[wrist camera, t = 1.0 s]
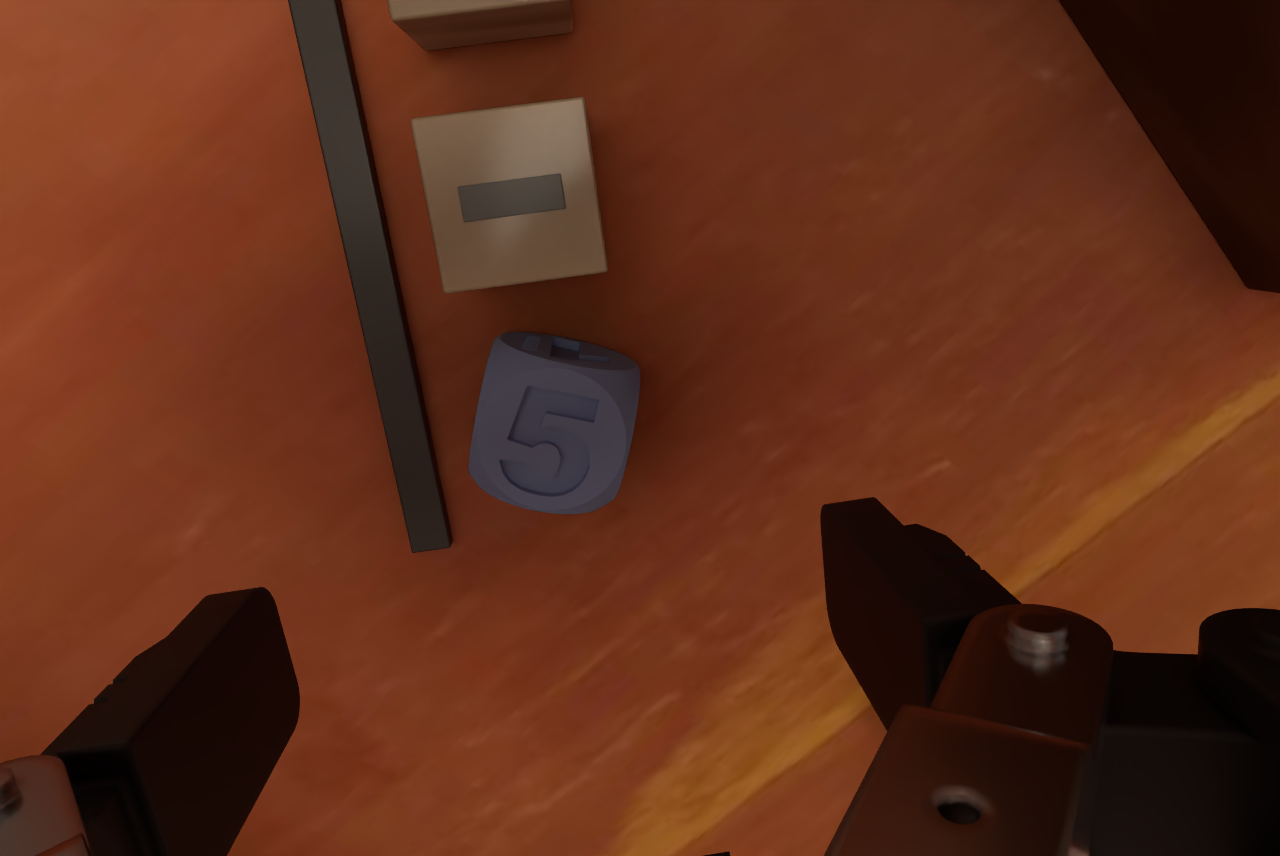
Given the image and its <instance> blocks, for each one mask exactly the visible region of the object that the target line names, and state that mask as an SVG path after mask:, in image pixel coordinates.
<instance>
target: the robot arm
mask: <svg viewBox="0 0 1280 856" xmlns="http://www.w3.org/2000/svg"><path fill="white" fill-rule="evenodd" d="M821 536H822V550H823V563H824V577H825V591H826V603H827V611H828V617H829V622H830V626H831V630H832V633H833V636H834V639H835V641H836V644H837V646H838V648H839V650H840V651H841V653H842V655H843V656H844V658H845V660H846V661H847V663H848V665H849V667H850V668H851V670H852V672H853V673H854V675H855V677H856V679H857V680H858V682H859V684H860V685H861V687H862V689H863V691H864V692H865V694H866V696H867V697H868V699H869V701H870V703H871V704H872V706H873V708H874V709H875V711H876V713H877V715H878V716H879V718H880V720H881V721H882V723H883V725H884V726H885V728H886V730H887V734H886V736H885V738H884V740H883V742H882V744H881V745H880V747H879V749H878V751H877V753H876V755H875V757H874V759H873V761H872V763H871V765H870V767H869V769H868V771H867V773H866V775H865V777H864V779H863V780H862V782H861V784H860V786H859V788H858V790H857V792H856V794H855V796H854V798H853V800H852V802H851V804H850V806H849V808H848V810H847V812H846V813H845V815H844V817H843V819H842V821H841V823H840V825H839V827H838V829H837V831H836V833H835V835H834V837H833V839H832V841H831V843H830V845H829V847H828V848H827V850H826V852H825V854H824V856H1280V610H1275V609H1262V608H1243V609H1232V610H1227V611H1222V612H1219V613H1216V614H1213V615H1211V616H1209V617H1207V618H1206V619H1205V620H1204V621H1203V622H1202V624H1201V625H1200V629H1199V644H1198V655H1195V654H1165V653H1137V652H1123V651H1116V650H1113V642H1112V640H1111V637H1110V636H1109V635H1108V633H1107V632H1106V631H1105V630H1104V629H1103V628H1102V627H1101V626H1100V625H1098V624H1097V623H1095V622H1094V621H1092V620H1090V619H1088V618H1086V617H1084V616H1082V615H1080V614H1077V613H1074V612H1072V611H1068V610H1065V609H1061V608H1056V607H1051V606H1045V605H1036V604H1022V603H1020V602H1019V601H1018V600H1017V599H1016V598H1015V597H1014V596H1013V595H1012V594H1010V593H1009V592H1008V591H1007V590H1006V589H1005V588H1004V587H1003V586H1002V585H1000V584H999V583H998V582H997V581H996V580H995V579H994V578H993V577H992V576H991V575H989V574H988V573H987V572H986V571H985V570H981V568H980V566H979V565H978V564H977V563H976V562H975V561H974V560H973V559H972V558H971V557H970V556H966V555H965V552H964V551H963V550H962V549H961V548H960V547H958V546H957V545H956V544H955V543H954V542H953V541H952V540H951V539H950V538H948V537H947V536H946V535H943V534H941V533H938V532H936V531H934V530H931V529H929V528H926V527H924V526H921V525H919V524H911V525H905V526H903V525H902V524H901V523H900V522H899V521H898V520H897V519H896V518H895V517H894V516H893V515H892V514H891V513H890V512H889V511H888V510H887V509H886V508H885V507H884V506H883V505H882V504H881V503H880V502H879V501H878V500H877V499H876V498H874V497H871V498H864V499H858V500H851V501H844V502H837V503H831V504H825V505H823V506H822V509H821ZM299 708H300V695H299V687H298V682H297V678H296V675H295V671H294V668H293V664H292V660H291V657H290V653H289V650H288V646H287V642H286V639H285V635H284V632H283V628H282V624H281V621H280V617H279V614H278V610H277V606H276V603H275V601H274V598H273V596H272V595H271V593H270V592H269V591H268V590H267V589H266V588H263V587H259V588H252V589H245V590H239V591H232V592H225V593H218V594H212V595H208V596H206V597H205V598H203V599H202V600H201V601H200V602H199V604H198V605H197V606H196V607H195V608H194V609H193V610H192V611H191V612H190V613H189V614H188V615H187V616H186V617H185V618H184V619H183V620H182V621H181V622H180V624H179V625H178V626H177V627H176V628H175V629H174V630H173V631H172V632H171V633H170V634H169V635H168V636H167V637H166V638H164V639H163V640H161V641H160V642H158V643H156V644H155V645H153V646H152V647H150V648H149V649H147V650H146V651H144V652H142V653H141V654H139V655H138V656H136V657H135V658H134V659H133V660H132V661H131V662H130V663H129V664H128V665H127V666H126V667H125V668H124V669H123V670H122V671H121V672H120V673H119V674H118V675H117V677H116V678H115V679H114V680H113V684H110V685H108V686H107V687H106V688H105V689H104V690H103V691H102V692H101V693H100V694H99V695H98V696H97V697H96V698H95V699H94V704H90V705H88V706H87V707H86V708H85V709H84V710H83V711H82V712H81V713H80V714H79V715H78V716H77V717H76V719H75V720H74V721H73V722H72V723H71V724H70V725H69V726H68V727H67V728H66V729H65V730H64V731H63V732H62V733H61V734H60V735H59V736H58V737H57V738H56V739H55V740H54V741H53V742H52V743H51V744H50V745H49V746H48V747H47V748H46V749H45V750H44V751H43V752H42V753H41V754H40V755H33V756H26V757H21V758H16V759H13V760H9V761H5V762H2V763H0V856H227V854H228V852H229V850H230V849H231V847H232V845H233V843H234V841H235V839H236V837H237V836H238V834H239V832H240V830H241V828H242V826H243V825H244V823H245V821H246V819H247V817H248V815H249V813H250V812H251V810H252V808H253V806H254V804H255V802H256V800H257V799H258V797H259V795H260V793H261V791H262V789H263V787H264V786H265V784H266V782H267V780H268V778H269V776H270V774H271V773H272V771H273V769H274V767H275V765H276V763H277V761H278V760H279V758H280V756H281V754H282V752H283V750H284V748H285V747H286V745H287V743H288V741H289V739H290V737H291V736H292V734H293V732H294V730H295V728H296V725H297V721H298V717H299ZM704 856H730V852H723V853H717V854H710V855H704Z"/></svg>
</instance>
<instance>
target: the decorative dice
mask: <svg viewBox="0 0 1280 856" xmlns="http://www.w3.org/2000/svg"><path fill="white" fill-rule="evenodd" d="M639 391H640V369H639V367H638V365H637V364H636V363H635V361H633V360H632V359H631V358H629V357H627V356H625V355H623V354H621V353H618V352H616V351H613V350H610V349H608V348H605V347H601V346H598V345H595V344H591V343H587V342H583V341H579V340H575V339H570V338H565V337H560V336H554V335H548V334H540V333H530V332H509V333H504V334H502V335H500V336H498V337H497V338H495V340H494V342H493V345H492V348H491V351H490V355H489V358H488V362H487V366H486V370H485V374H484V379H483V383H482V388H481V392H480V397H479V402H478V407H477V412H476V418H475V423H474V429H473V435H472V441H471V448H470V456H469V466H468V472H469V474H470V475H471V477H472V478H473V479H474V481H475V482H476V483H477V485H478V486H479V487H480V488H481V489H482V490H484V491H485V492H486V493H488V494H489V495H491V496H493V497H495V498H497V499H499V500H501V501H504V502H506V503H509V504H512V505H515V506H518V507H522V508H525V509H529V510H534V511H539V512H546V513H555V514H580V513H587V512H592V511H595V510H597V509H599V508H601V507H603V506H604V505H606V504H607V503H609V502H611V501H612V500H614V499H615V497H616V495H617V493H618V490H619V488H620V485H621V482H622V478H623V475H624V471H625V467H626V463H627V459H628V455H629V451H630V446H631V441H632V436H633V431H634V426H635V420H636V414H637V407H638V400H639Z"/></svg>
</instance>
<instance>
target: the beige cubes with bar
mask: <svg viewBox="0 0 1280 856" xmlns="http://www.w3.org/2000/svg"><path fill="white" fill-rule="evenodd" d="M288 2H289V7H290V11H291V15H292V20H293V24H294V29H295V33H296V38H297V42H298V47H299V51H300V56H301V60H302V64H303V69H304V73H305V78H306V82H307V87H308V91H309V96H310V100H311V105H312V109H313V113H314V118H315V122H316V127H317V131H318V136H319V140H320V145H321V149H322V153H323V158H324V162H325V167H326V171H327V176H328V180H329V185H330V189H331V194H332V198H333V202H334V207H335V211H336V216H337V220H338V225H339V229H340V234H341V238H342V242H343V247H344V251H345V256H346V260H347V265H348V269H349V274H350V278H351V283H352V287H353V291H354V296H355V300H356V305H357V309H358V314H359V318H360V323H361V327H362V332H363V336H364V340H365V345H366V349H367V354H368V358H369V363H370V367H371V372H372V376H373V380H374V385H375V389H376V394H377V398H378V403H379V407H380V412H381V416H382V421H383V425H384V429H385V434H386V438H387V443H388V447H389V452H390V456H391V461H392V465H393V469H394V474H395V478H396V483H397V487H398V492H399V496H400V501H401V505H402V510H403V514H404V518H405V523H406V527H407V532H408V536H409V541H410V545H411V550H412V552H413V553H416V552H423V551H430V550H437V549H443V548H449V547H451V544H452V541H453V540H452V536H451V531H450V526H449V521H448V516H447V512H446V507H445V502H444V497H443V492H442V488H441V483H440V478H439V473H438V468H437V464H436V459H435V454H434V449H433V444H432V440H431V435H430V430H429V425H428V420H427V416H426V411H425V406H424V401H423V396H422V392H421V387H420V382H419V377H418V372H417V368H416V363H415V358H414V353H413V348H412V344H411V339H410V334H409V329H408V324H407V320H406V315H405V310H404V305H403V300H402V296H401V291H400V286H399V281H398V276H397V272H396V267H395V262H394V257H393V252H392V248H391V243H390V238H389V233H388V228H387V224H386V219H385V214H384V209H383V204H382V200H381V195H380V190H379V185H378V181H377V176H376V171H375V166H374V161H373V157H372V152H371V147H370V142H369V137H368V133H367V128H366V123H365V118H364V113H363V109H362V104H361V99H360V94H359V89H358V85H357V80H356V75H355V70H354V65H353V61H352V56H351V51H350V46H349V41H348V37H347V32H346V27H345V22H344V17H343V13H342V8H341V3H340V0H288ZM387 2H388V7H389V12H390V18H391V19H392V21H393V22H394V23H395V24H396V25H397V26H399V27H400V28H401V29H402V30H403V31H404V32H405V33H406V34H408V35H409V36H410V37H411V38H412V39H413V40H414V41H415V42H416V43H418V44H419V45H420V46H421V47H422V48H423V49H424V50H427V51H429V50H437V49H444V48H452V47H460V46H468V45H476V44H484V43H492V42H500V41H508V40H516V39H524V38H532V37H540V36H548V35H556V34H563V33H570V32H572V31H573V19H572V3H571V0H387ZM411 127H412V132H413V137H414V142H415V147H416V152H417V158H418V163H419V168H420V173H421V178H422V183H423V189H424V194H425V199H426V204H427V209H428V214H429V220H430V225H431V230H432V235H433V240H434V245H435V251H436V256H437V261H438V266H439V271H440V276H441V282H442V287H443V291H444V293H446V294H449V293H457V292H464V291H471V290H479V289H486V288H494V287H501V286H509V285H516V284H523V283H531V282H538V281H546V280H553V279H561V278H568V277H575V276H583V275H590V274H598V273H605V272H607V271H608V265H607V257H606V250H605V242H604V235H603V228H602V220H601V213H600V205H599V198H598V191H597V183H596V176H595V169H594V161H593V154H592V146H591V139H590V132H589V124H588V117H587V109H586V102H585V99H584V97H574V98H566V99H558V100H550V101H542V102H535V103H527V104H519V105H511V106H504V107H496V108H488V109H480V110H472V111H465V112H457V113H449V114H441V115H433V116H426V117H418V118H413V119H411Z"/></svg>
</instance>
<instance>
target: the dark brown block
mask: <svg viewBox="0 0 1280 856" xmlns="http://www.w3.org/2000/svg"><path fill="white" fill-rule="evenodd" d="M1060 1H1061V2H1062V4H1063V5H1064V7H1065V8H1066V10H1067V12H1068V13H1069V15H1070V16H1071V18H1072V19H1073V21H1074V22H1075V24H1076V25H1077V27H1078V28H1079V30H1080V31H1081V33H1082V34H1083V36H1084V37H1085V39H1086V41H1087V42H1088V44H1089V45H1090V47H1091V48H1092V50H1093V51H1094V53H1095V54H1096V56H1097V57H1098V59H1099V60H1100V62H1101V63H1102V65H1103V66H1104V68H1105V70H1106V71H1107V73H1108V74H1109V76H1110V77H1111V79H1112V80H1113V82H1114V83H1115V85H1116V86H1117V88H1118V89H1119V91H1120V92H1121V94H1122V95H1123V97H1124V99H1125V100H1126V102H1127V103H1128V105H1129V106H1130V108H1131V109H1132V111H1133V112H1134V114H1135V115H1136V117H1137V118H1138V120H1139V121H1140V123H1141V124H1142V126H1143V128H1144V129H1145V131H1146V132H1147V134H1148V135H1149V137H1150V138H1151V140H1152V141H1153V143H1154V144H1155V146H1156V147H1157V149H1158V150H1159V152H1160V153H1161V155H1162V157H1163V158H1164V160H1165V161H1166V163H1167V164H1168V166H1169V167H1170V169H1171V170H1172V172H1173V173H1174V175H1175V176H1176V178H1177V179H1178V181H1179V182H1180V184H1181V186H1182V187H1183V189H1184V190H1185V192H1186V193H1187V195H1188V196H1189V198H1190V199H1191V201H1192V202H1193V204H1194V205H1195V207H1196V208H1197V210H1198V211H1199V213H1200V215H1201V216H1202V218H1203V219H1204V221H1205V222H1206V224H1207V225H1208V227H1209V228H1210V230H1211V231H1212V233H1213V234H1214V236H1215V237H1216V239H1217V240H1218V242H1219V244H1220V245H1221V247H1222V248H1223V250H1224V251H1225V253H1226V254H1227V256H1228V257H1229V259H1230V260H1231V262H1232V263H1233V265H1234V266H1235V268H1236V269H1237V271H1238V273H1239V274H1240V276H1241V277H1242V279H1243V280H1244V282H1245V283H1246V285H1247V286H1248V288H1250V289H1254V290H1261V291H1268V292H1275V293H1280V0H1060Z"/></svg>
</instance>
